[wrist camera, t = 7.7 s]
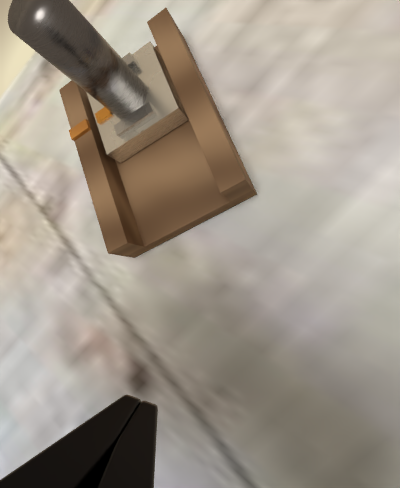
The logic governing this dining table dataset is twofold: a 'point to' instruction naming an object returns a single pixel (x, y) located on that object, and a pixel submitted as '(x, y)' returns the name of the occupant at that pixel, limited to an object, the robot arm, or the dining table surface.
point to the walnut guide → (161, 160)
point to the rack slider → (103, 75)
